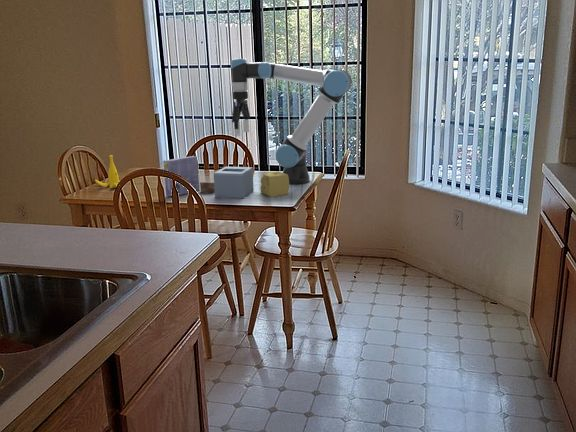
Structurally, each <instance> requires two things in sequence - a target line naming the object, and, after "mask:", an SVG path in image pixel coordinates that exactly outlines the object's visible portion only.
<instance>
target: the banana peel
mask: <svg viewBox="0 0 576 432" xmlns="http://www.w3.org/2000/svg"><path fill="white" fill-rule="evenodd" d="M108 157H109V162H110V163H109V168H108V175H107V177H108V178H107V180H108V182H102V181H99V180H98V179H95V180H94V181H95V182H96V183H97V184H98V185H99V186H101V187H104V188H105V187H106V188H108V187H109V189H117V188H116V186H117V184H118V182H120V178H119V173H118V171H117V168H116V166H115V163H114V160H113V159H114V158H113V157H114V155H112V154H109V156H108Z"/></svg>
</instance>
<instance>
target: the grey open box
mask: <svg viewBox="0 0 576 432" xmlns="http://www.w3.org/2000/svg"><path fill="white" fill-rule="evenodd" d="M253 168H254V167H252V166H251V167H249V166H224V167H222V168H220V169H218V170H217V171H214V172H213V181H214V188H215V192H214V198H215V199H235V200H237V199H239V200H243V199H246V198H247V197H248V196H249V195H250V194H252V193H254V191H255V190H254V170H253Z"/></svg>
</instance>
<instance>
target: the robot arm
mask: <svg viewBox="0 0 576 432" xmlns="http://www.w3.org/2000/svg"><path fill="white" fill-rule="evenodd" d="M230 63H231V64H230V65H231V68H230V69H231V82H232V83H231V87H232V99H233V100H236V101H234V102H233V109H232V116H231V117H232V119H231V123H233V126H234V127H233V128H234V129H233V131H234V136H235V137H236V136H239V137H240V136H241V123H240V118H241V115H242V121H243V122H242V123H243V133H249V132H250V124H249V123H250V120H251V114H250V110H249V104H248V99H249V92H248V89H249V88H248V87H249V85H248V79H272V80H280V81H285V82H290V83H291V82H292V83H298V84H304V85H310V86H316V87H319V88H318V90H317V91H318V95H317V96H316V98H315V100H314V101H313V103H312V104H311V105H310V107H309V109H308V110H307V111H306V113H305V115H304V116H303V117H302V119H301V120H300V122H299V124H298V125H297V126H296V128H295V130H294V132H293V133H292V134H290V135H287V136H286V137H285V138H284V139H283V142H282V144H281V145H280V146H278V148H277V149H276V151H275V160H276V162H277V163H278V164H279V165H280V166H281V167H282V168H283V170H282V173H285V174H288V177H289V185H291V184H292V185H295V184H296V185H297V184H298V185H299V184H306V183H309V182H310V181H311V180H310V179H311V178H310V174H309V171H308V168H307V149H308V147H307V144H308V143H309V141H310V140H311V139H312V137H313V135H315V132H316V131H317V130H318V128H319V127H320V125H321V124H322V122H323V120H325V118H326V116H327V115H328V114H329V112H330V110H331V109H332V107H333V106H334V105H337V104H339V103H340V101H341V100H342V98H343V97H344V95H346V93H347V92H348V91H349V90H350V89H351V87H352V85H353V82H352V76H351V74H350V73H348V72H347V71H346V70H344V69H326V70H321V69H320V70H319V69H314V68H307V67H299V66H294V65H286V64H280V63H279V64H278V63H273V62H270V61H261V62H260V61H259V62H258V61H257V62H248V61H247V58H232V60H231V62H230Z"/></svg>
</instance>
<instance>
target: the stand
mask: <svg viewBox="0 0 576 432" xmlns="http://www.w3.org/2000/svg"><path fill="white" fill-rule="evenodd" d="M199 189H200V193H211V194H212V193H213V194H215V188H214V180H211V181H208V180H201V181H199Z"/></svg>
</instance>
